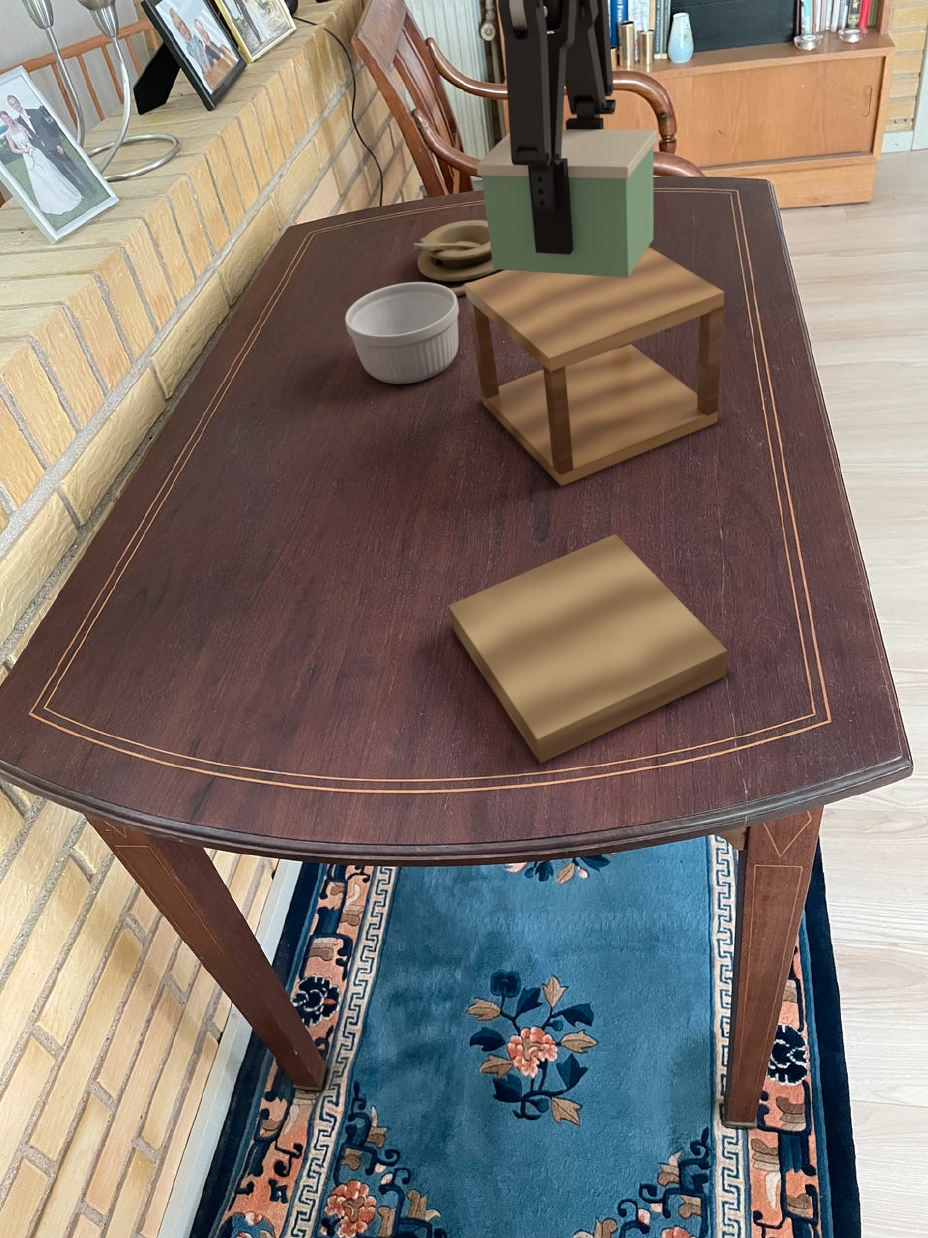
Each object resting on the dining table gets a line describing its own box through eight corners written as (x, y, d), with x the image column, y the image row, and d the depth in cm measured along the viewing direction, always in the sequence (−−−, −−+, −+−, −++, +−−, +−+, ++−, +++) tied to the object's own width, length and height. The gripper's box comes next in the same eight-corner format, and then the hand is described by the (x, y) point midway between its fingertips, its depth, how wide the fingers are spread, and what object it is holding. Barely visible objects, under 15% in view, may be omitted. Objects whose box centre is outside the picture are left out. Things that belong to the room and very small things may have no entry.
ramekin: (440, 322, 117) (431, 269, 112) (484, 365, 107) (475, 310, 103) (344, 357, 114) (330, 304, 109) (380, 404, 105) (366, 349, 100)
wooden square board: (725, 676, 70) (727, 650, 68) (540, 764, 67) (536, 739, 65) (616, 559, 81) (615, 533, 79) (453, 630, 78) (447, 605, 76)
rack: (717, 422, 93) (724, 291, 83) (561, 486, 89) (549, 358, 80) (623, 350, 105) (620, 229, 95) (483, 404, 102) (464, 284, 92)
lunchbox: (656, 237, 72) (657, 128, 66) (629, 279, 68) (627, 166, 62) (522, 231, 76) (512, 128, 71) (489, 270, 72) (475, 164, 67)
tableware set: (421, 303, 121) (412, 259, 117) (417, 241, 135) (409, 200, 131) (646, 264, 119) (645, 218, 115) (618, 206, 133) (617, 163, 129)
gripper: (549, -178, 62) (570, 175, 78) (417, -113, 50) (475, 287, 66) (658, -193, 59) (657, 177, 75) (546, -128, 47) (573, 294, 63)
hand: (572, 228), depth 71 cm, fingers closed on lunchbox, 7 cm apart
